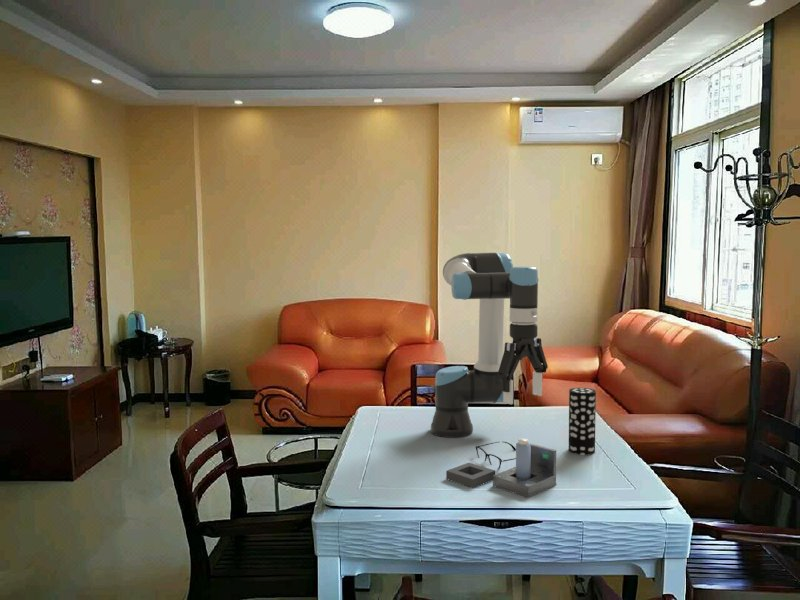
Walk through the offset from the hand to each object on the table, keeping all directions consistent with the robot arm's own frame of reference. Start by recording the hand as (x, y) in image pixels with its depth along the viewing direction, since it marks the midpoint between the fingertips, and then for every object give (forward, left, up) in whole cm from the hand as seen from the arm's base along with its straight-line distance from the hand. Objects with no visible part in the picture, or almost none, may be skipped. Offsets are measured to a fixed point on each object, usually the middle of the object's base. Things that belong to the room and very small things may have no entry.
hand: (523, 399), depth 184 cm
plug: (0, 0, -25) cm, 25 cm away
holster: (-14, -6, -25) cm, 29 cm away
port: (0, 0, -25) cm, 25 cm away
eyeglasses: (-17, +15, -25) cm, 34 cm away
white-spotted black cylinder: (-5, +39, -25) cm, 46 cm away
